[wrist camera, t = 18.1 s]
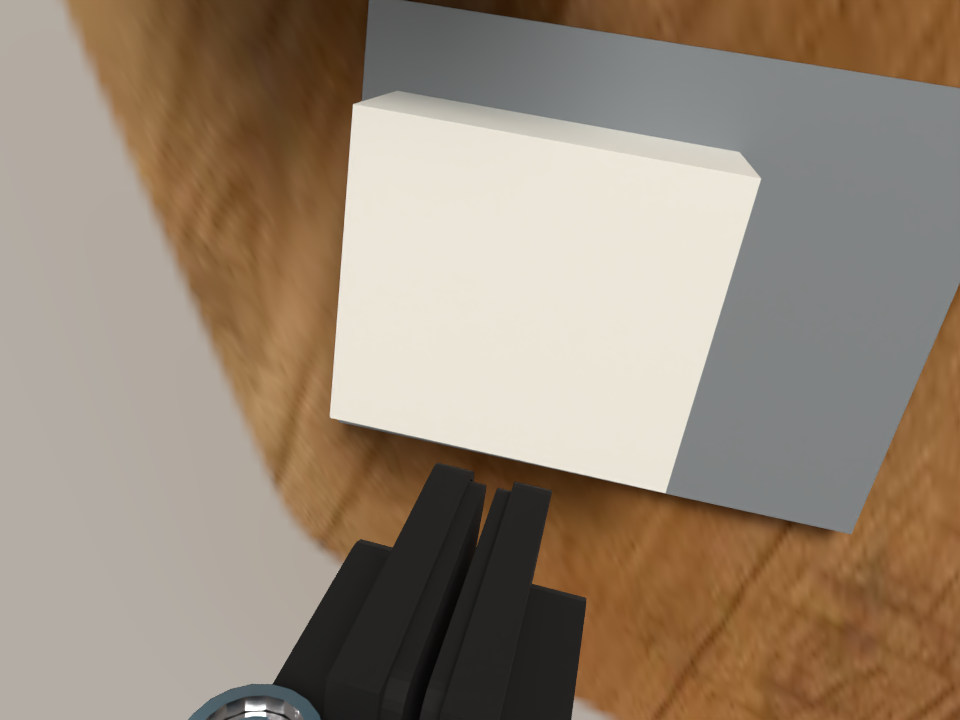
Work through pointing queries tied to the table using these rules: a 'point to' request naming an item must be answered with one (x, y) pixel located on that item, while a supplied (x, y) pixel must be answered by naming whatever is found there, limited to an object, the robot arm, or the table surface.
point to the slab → (532, 283)
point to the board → (751, 232)
